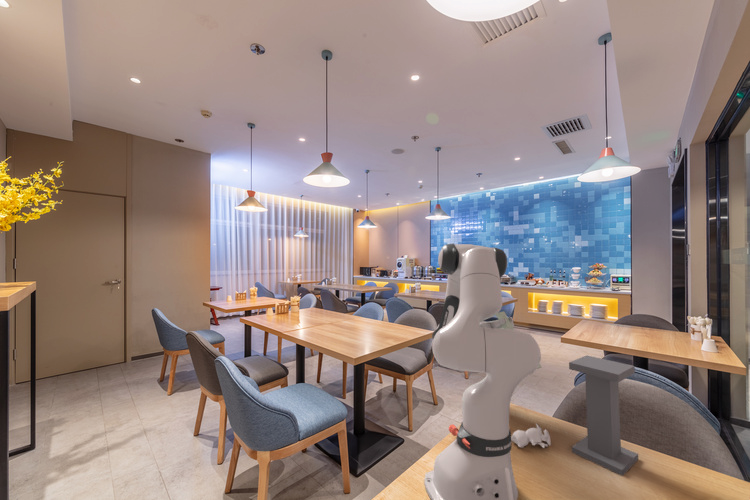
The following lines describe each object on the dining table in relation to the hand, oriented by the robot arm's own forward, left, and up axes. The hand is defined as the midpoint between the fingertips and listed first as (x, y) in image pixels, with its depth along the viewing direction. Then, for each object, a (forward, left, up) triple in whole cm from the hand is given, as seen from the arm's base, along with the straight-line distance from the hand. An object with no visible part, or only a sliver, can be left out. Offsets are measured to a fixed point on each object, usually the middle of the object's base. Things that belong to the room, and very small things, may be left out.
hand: (508, 319), depth 113 cm
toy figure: (-6, -17, -35) cm, 39 cm away
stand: (+10, -28, -34) cm, 45 cm away
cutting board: (+1, -2, -8) cm, 8 cm away
